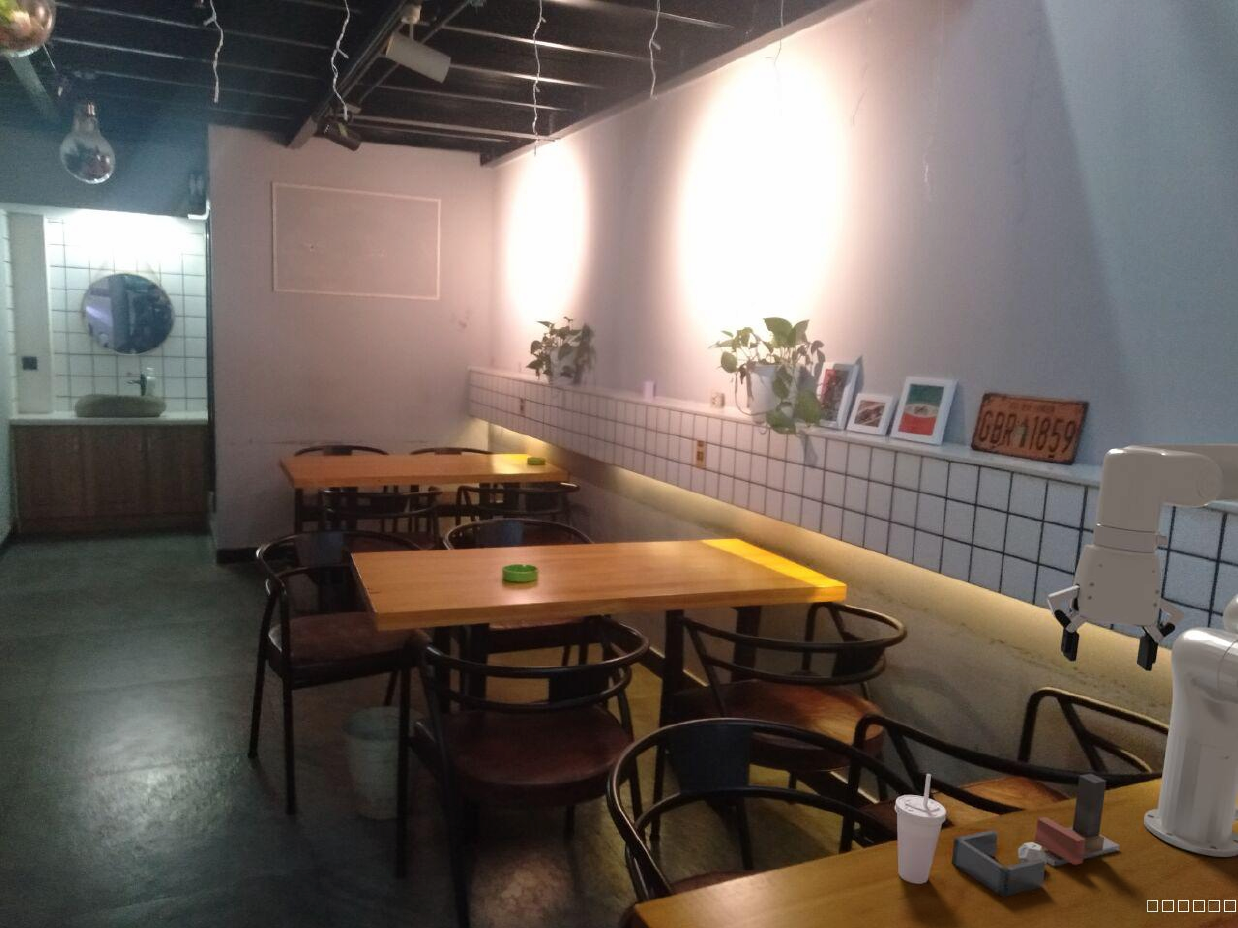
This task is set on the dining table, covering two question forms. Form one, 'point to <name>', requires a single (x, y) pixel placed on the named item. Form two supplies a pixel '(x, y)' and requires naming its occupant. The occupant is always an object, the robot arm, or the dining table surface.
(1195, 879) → the dining table surface
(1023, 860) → the game die
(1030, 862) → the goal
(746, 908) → the dining table surface
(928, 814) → the smoothie
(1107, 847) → the rail
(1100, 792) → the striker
